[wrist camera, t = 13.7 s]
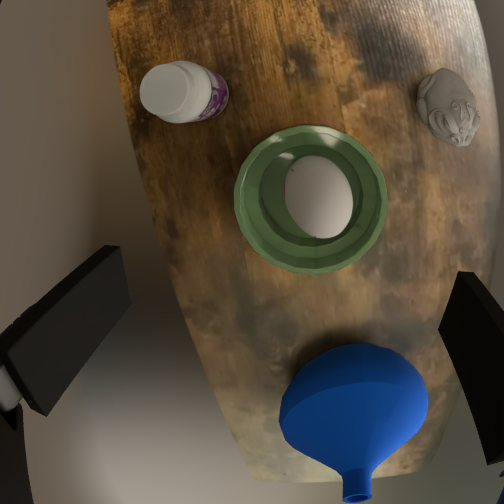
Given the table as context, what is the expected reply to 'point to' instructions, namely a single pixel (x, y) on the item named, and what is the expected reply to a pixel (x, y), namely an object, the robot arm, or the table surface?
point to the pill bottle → (183, 92)
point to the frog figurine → (448, 107)
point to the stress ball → (318, 196)
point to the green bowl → (277, 215)
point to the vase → (353, 411)
